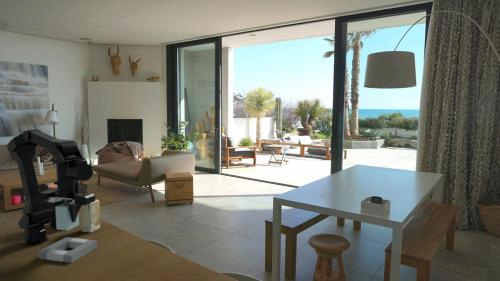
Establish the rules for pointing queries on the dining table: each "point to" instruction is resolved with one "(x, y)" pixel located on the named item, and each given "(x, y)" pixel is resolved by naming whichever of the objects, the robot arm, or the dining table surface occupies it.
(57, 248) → the socket block
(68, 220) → the plug
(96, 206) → the skincare box
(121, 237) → the dining table surface
